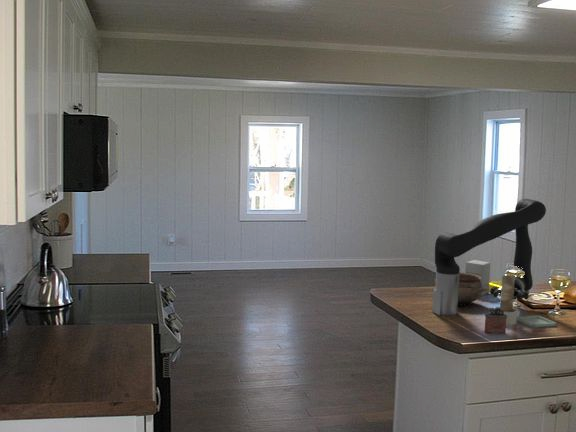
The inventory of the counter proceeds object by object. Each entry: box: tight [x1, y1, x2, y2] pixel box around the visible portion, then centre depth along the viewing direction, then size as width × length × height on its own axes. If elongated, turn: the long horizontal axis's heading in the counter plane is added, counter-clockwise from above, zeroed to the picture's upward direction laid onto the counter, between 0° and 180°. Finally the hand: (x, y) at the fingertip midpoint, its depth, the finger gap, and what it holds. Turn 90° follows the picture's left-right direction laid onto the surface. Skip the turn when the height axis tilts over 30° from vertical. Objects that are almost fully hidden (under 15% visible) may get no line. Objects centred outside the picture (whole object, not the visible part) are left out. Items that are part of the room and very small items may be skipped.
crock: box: [498, 306, 519, 326], centre depth 253 cm, size 8×8×6 cm
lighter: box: [483, 306, 507, 335], centre depth 238 cm, size 8×3×10 cm, turn 92°
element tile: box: [489, 280, 524, 294], centre depth 308 cm, size 15×15×5 cm
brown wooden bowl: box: [433, 272, 488, 306], centre depth 283 cm, size 25×19×12 cm
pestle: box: [499, 275, 515, 312], centre depth 252 cm, size 5×5×18 cm
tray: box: [517, 315, 558, 329], centre depth 253 cm, size 11×11×2 cm
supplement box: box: [464, 259, 491, 297], centre depth 303 cm, size 9×9×15 cm
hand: (506, 296), depth 251 cm, fingers open, 8 cm apart
